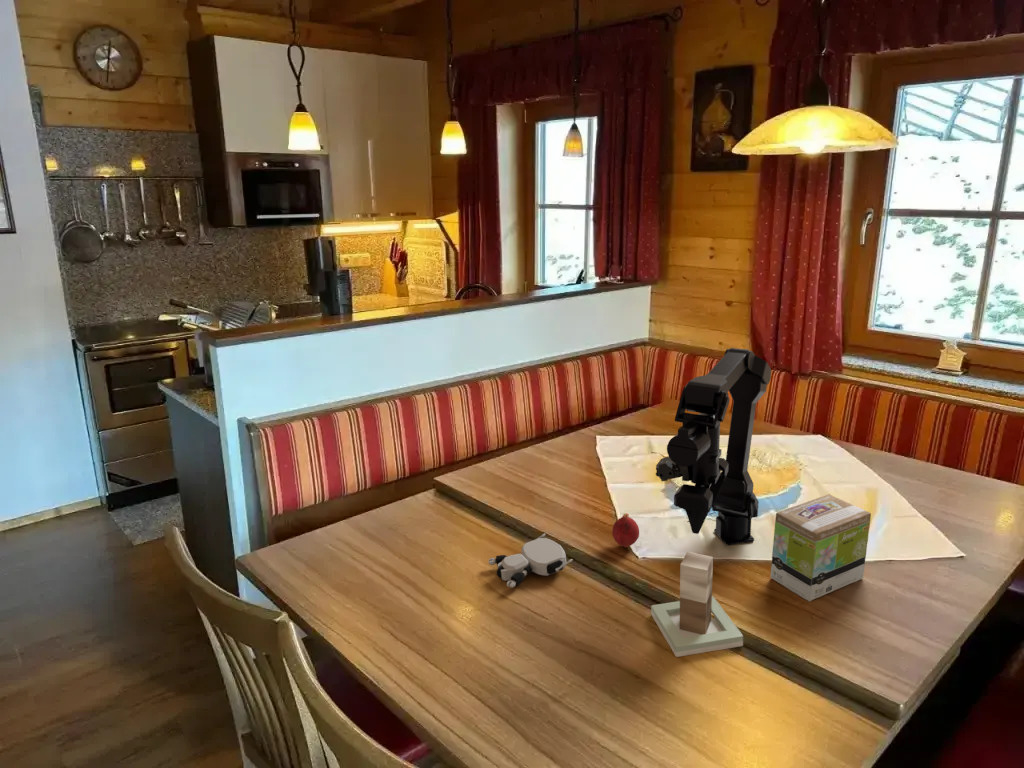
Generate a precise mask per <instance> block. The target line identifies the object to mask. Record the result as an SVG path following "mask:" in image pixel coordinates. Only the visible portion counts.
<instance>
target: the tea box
mask: <svg viewBox="0 0 1024 768" xmlns="http://www.w3.org/2000/svg"><path fill="white" fill-rule="evenodd" d="M871 514H872V513H871V512H869V511H867V510H865V509H863V508H860V507H858V506H856V505H853V503H850V502H847V501H845V500H843V499H841V498H838V497H836V496H833V495H832V494H826V495H822V496H819V497H817V498H814V499H812V500H808V501H806V502H803V503H800V504H797V505H795V506H791V507H789V508H786V509H784V510H780V511H777V512H776V514H775V520H774V529H773V530H774V531H773V532H774V533H773V542H772V543H773V544H772V555H771V565H770V577H769V578H771V579H772V580H774V581H775V582H777V583H778V584H780V585H782V586H783V587H784V588H786V589H788V590H789V591H791V592H793V594H795V595H797V596H799V597H800V598H803V599H804V600H806V601H808V602H812V601H813V600H815V599H818V598H821V597H823V596H825V595H827V594H830V593H832V592H834V591H836V590H839V589H841V588H844V587H845V586H848V585H850V584H852V583H853V584H854V583H855V582H858V581H861V580H862V579H863V578H864V573H865V566H866V565H865V564H866V557H867V550H868V549H867V548H868V542H869V541H868V540H869V533H870V527H871V526H870V525H871V517H872V515H871Z"/></svg>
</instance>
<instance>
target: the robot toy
mask: <svg viewBox="0 0 1024 768" xmlns="http://www.w3.org/2000/svg"><path fill="white" fill-rule="evenodd" d="M545 536H546V533H543V534H541V535H540V536H538V537H537V538H536V539H533V540H530V541H527V542H525V543H524V544H523V546H521V553H519V552H518V553H516V554H512V555H505V554H503V555H502V554H501V555H500V554H499V555H495V558H494V557H491V558H488V565H490V566H494V565H496V566H497V569H496V573H495V574H496V576H497V577H499V578H500V579H501V581H504V582H505V581H507V582H506V586H507V587H509V588H514V587H518V586H519V585H520V584H522V583H523V582H524V579H525V577H526V576H527V575H528V576H529V575H530V574H532V572H533V573H535V574H537V575H539V576H547V577H548V576H550V575H554V574H556V573H558V572H560V571H563V569H565V567H566V566H567V565H568V564H570V563H572V562H573V561H574V559H572V558H571V559H569V560H568V561H567V555H566V552H565V550H564V548H563V547H562V546H561V544H559V543H557V542H556V541H554V540H552V539H550V538H547V537H545Z"/></svg>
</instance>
